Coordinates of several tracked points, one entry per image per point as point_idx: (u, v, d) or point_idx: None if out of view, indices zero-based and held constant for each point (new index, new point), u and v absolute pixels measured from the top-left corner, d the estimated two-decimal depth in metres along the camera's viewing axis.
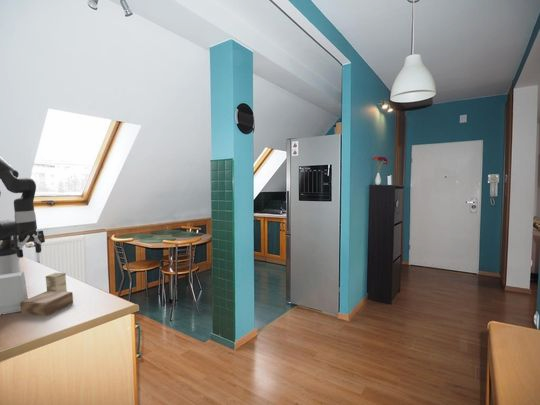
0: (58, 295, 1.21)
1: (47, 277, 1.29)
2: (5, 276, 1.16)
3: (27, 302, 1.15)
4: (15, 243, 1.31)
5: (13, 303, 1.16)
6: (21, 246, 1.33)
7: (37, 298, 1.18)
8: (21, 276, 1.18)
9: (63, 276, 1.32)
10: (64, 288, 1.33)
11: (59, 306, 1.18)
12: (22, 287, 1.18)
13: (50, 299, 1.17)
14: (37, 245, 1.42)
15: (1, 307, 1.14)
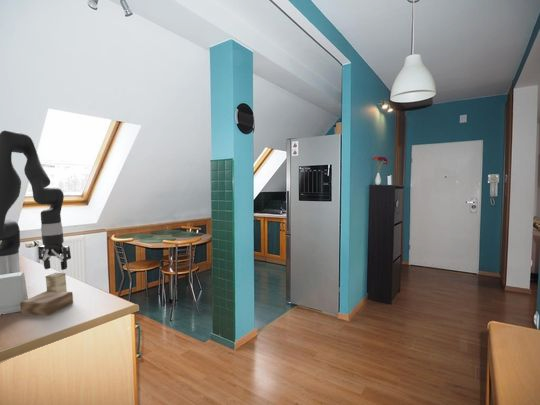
0: (58, 295, 1.21)
1: (47, 277, 1.29)
2: (5, 276, 1.16)
3: (27, 302, 1.15)
4: None
5: (13, 303, 1.16)
6: None
7: (37, 298, 1.18)
8: (21, 276, 1.18)
9: (63, 276, 1.32)
10: (64, 288, 1.33)
11: (59, 306, 1.19)
12: (22, 287, 1.18)
13: (50, 299, 1.17)
14: (47, 260, 1.32)
15: (1, 307, 1.14)
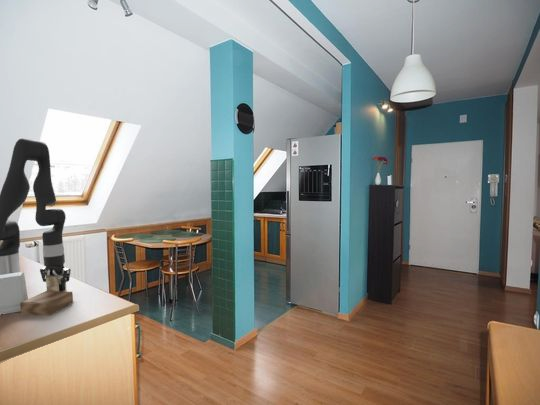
0: (58, 295, 1.21)
1: (47, 277, 1.29)
2: (5, 276, 1.16)
3: (27, 302, 1.15)
4: None
5: (13, 303, 1.16)
6: None
7: (37, 298, 1.18)
8: (21, 276, 1.18)
9: None
10: None
11: (60, 306, 1.19)
12: (22, 287, 1.18)
13: (51, 299, 1.17)
14: None
15: (1, 307, 1.14)
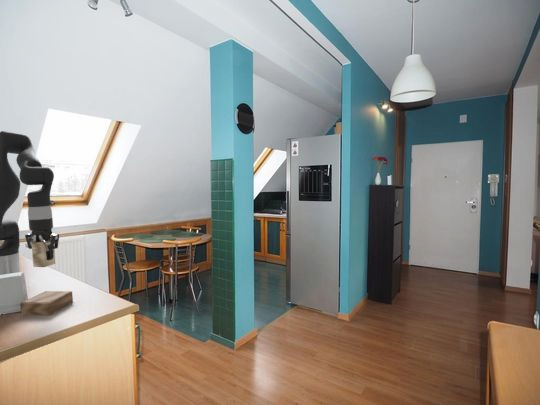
0: (58, 295, 1.21)
1: (33, 243, 1.16)
2: (5, 276, 1.16)
3: (28, 302, 1.14)
4: None
5: (13, 303, 1.16)
6: None
7: (37, 298, 1.18)
8: (21, 276, 1.18)
9: None
10: None
11: (60, 306, 1.19)
12: (22, 287, 1.18)
13: (52, 298, 1.17)
14: None
15: (1, 307, 1.14)
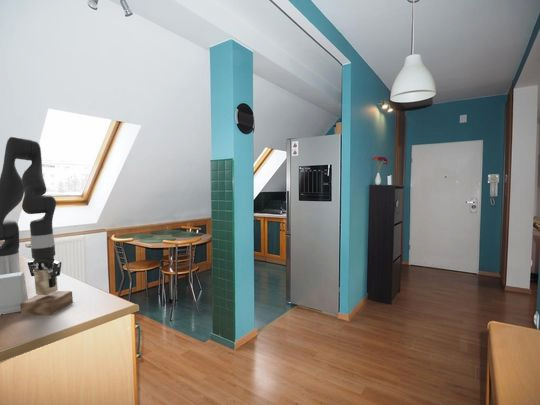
0: (58, 295, 1.21)
1: (36, 271, 1.17)
2: (5, 276, 1.16)
3: (28, 303, 1.14)
4: None
5: (13, 303, 1.16)
6: None
7: (37, 298, 1.18)
8: (21, 276, 1.18)
9: None
10: None
11: (61, 305, 1.19)
12: (22, 287, 1.18)
13: (52, 298, 1.17)
14: None
15: (1, 307, 1.14)
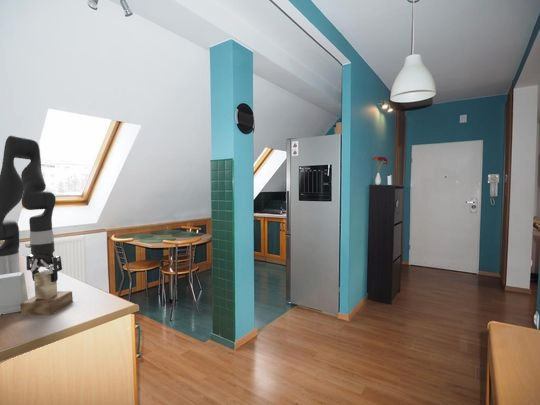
0: (58, 295, 1.21)
1: (36, 275, 1.17)
2: (5, 276, 1.16)
3: (28, 303, 1.14)
4: None
5: (13, 303, 1.16)
6: None
7: (37, 299, 1.18)
8: (21, 276, 1.18)
9: None
10: (54, 287, 1.21)
11: (61, 305, 1.19)
12: (22, 287, 1.18)
13: (52, 298, 1.18)
14: (36, 271, 1.20)
15: (1, 307, 1.14)
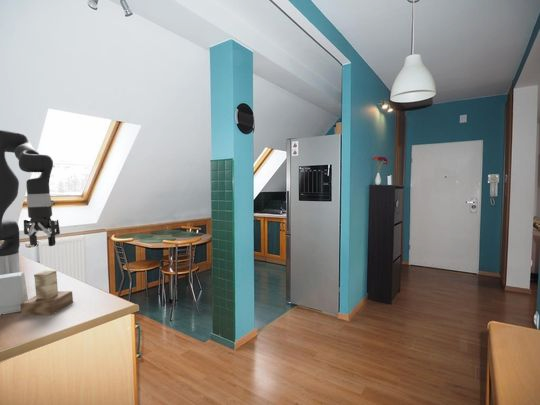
0: (58, 295, 1.21)
1: (36, 275, 1.17)
2: (5, 276, 1.16)
3: (28, 303, 1.14)
4: None
5: (13, 303, 1.16)
6: None
7: (37, 299, 1.18)
8: (21, 276, 1.18)
9: (54, 274, 1.21)
10: (55, 287, 1.21)
11: (61, 305, 1.19)
12: (22, 287, 1.18)
13: (52, 298, 1.18)
14: (34, 236, 1.19)
15: (1, 307, 1.14)
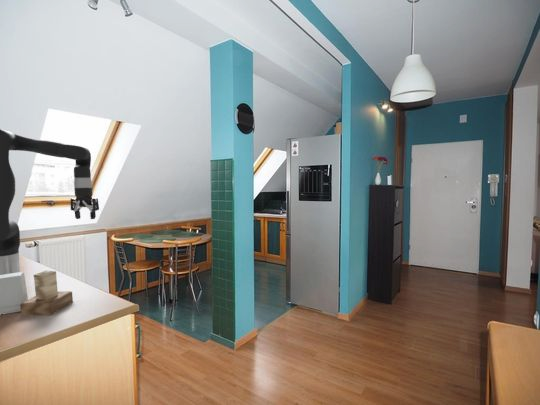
0: (58, 295, 1.21)
1: (35, 276, 1.16)
2: (5, 276, 1.16)
3: (28, 303, 1.14)
4: None
5: (13, 303, 1.16)
6: None
7: (37, 299, 1.18)
8: (21, 276, 1.18)
9: (53, 275, 1.19)
10: (54, 288, 1.20)
11: (61, 306, 1.19)
12: (22, 287, 1.18)
13: (52, 299, 1.17)
14: (78, 211, 1.50)
15: (1, 307, 1.14)
